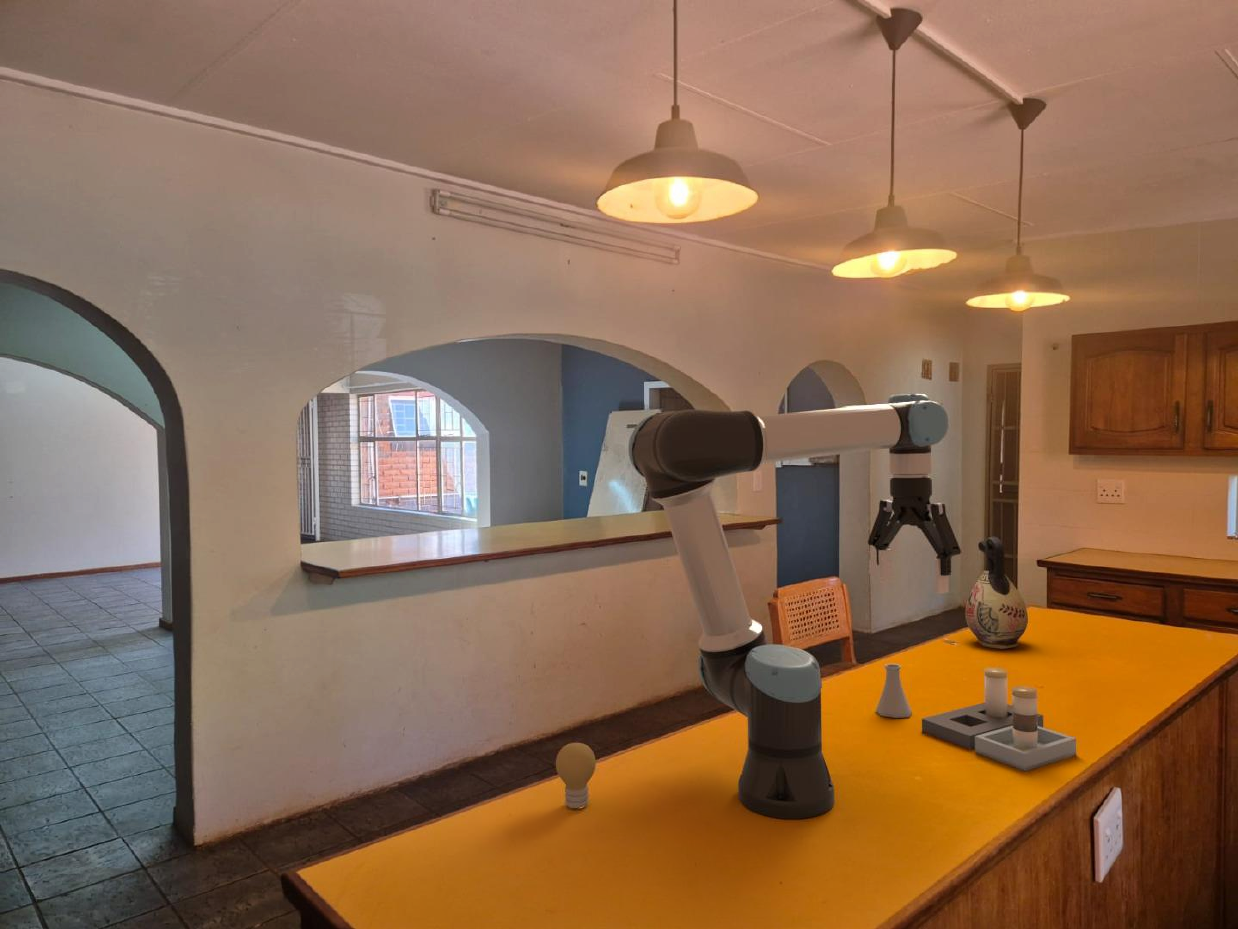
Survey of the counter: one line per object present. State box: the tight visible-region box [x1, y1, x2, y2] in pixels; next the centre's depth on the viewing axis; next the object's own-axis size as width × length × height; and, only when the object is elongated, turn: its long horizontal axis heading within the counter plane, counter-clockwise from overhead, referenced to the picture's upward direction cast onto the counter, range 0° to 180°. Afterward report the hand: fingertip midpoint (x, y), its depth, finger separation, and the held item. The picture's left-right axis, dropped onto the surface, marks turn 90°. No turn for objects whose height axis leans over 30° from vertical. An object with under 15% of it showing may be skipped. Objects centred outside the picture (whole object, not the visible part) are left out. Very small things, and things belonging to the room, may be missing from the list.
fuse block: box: [921, 702, 1044, 750], centre depth 159 cm, size 21×11×2 cm, turn 118°
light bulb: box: [555, 742, 597, 809], centre depth 130 cm, size 6×6×10 cm
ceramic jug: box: [964, 536, 1029, 650], centre depth 221 cm, size 17×15×30 cm
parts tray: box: [974, 726, 1077, 773], centre depth 147 cm, size 14×10×3 cm
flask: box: [875, 663, 913, 719], centre depth 170 cm, size 7×7×10 cm
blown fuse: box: [1011, 685, 1038, 751], centre depth 146 cm, size 4×4×11 cm
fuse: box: [983, 667, 1008, 719], centre depth 161 cm, size 4×4×11 cm
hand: (912, 587), depth 155 cm, fingers open, 13 cm apart
